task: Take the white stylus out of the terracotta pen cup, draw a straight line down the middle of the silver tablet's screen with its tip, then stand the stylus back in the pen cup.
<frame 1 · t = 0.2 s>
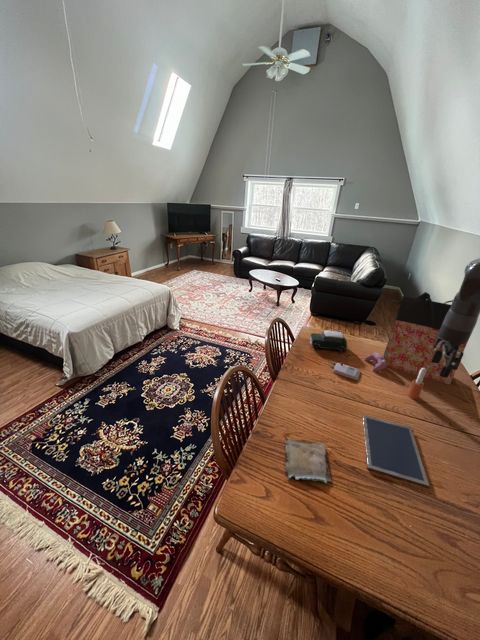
hand: (438, 369, 88), 19 cm above the table, tool pointing down, fingers open, 8 cm apart
gift bag: (409, 367, 122), on the table
video game controller: (374, 366, 122), on the table
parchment: (306, 461, 76), on the table
tablet: (390, 447, 82), on the table
miniature car: (327, 346, 136), on the table
stylus: (412, 396, 103), resting on pen cup
pen cup: (412, 397, 104), on the table
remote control: (344, 372, 116), on the table
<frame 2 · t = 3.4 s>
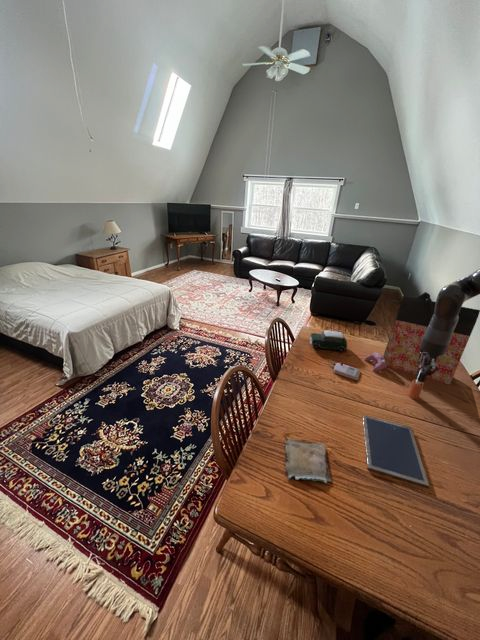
hand: (419, 379, 100), 9 cm above the table, tool pointing down, fingers closed on stylus, 2 cm apart
stylus: (412, 396, 103), resting on pen cup, touching gripper
everything else where it was.
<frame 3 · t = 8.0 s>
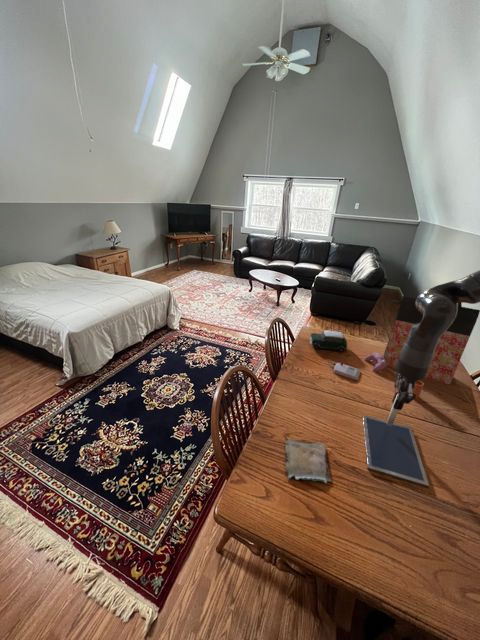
hand: (396, 405, 83), 11 cm above the table, tool pointing down, fingers closed on stylus, 2 cm apart
stylus: (388, 424, 87), point 2 cm above the table, touching gripper
everything else where it was.
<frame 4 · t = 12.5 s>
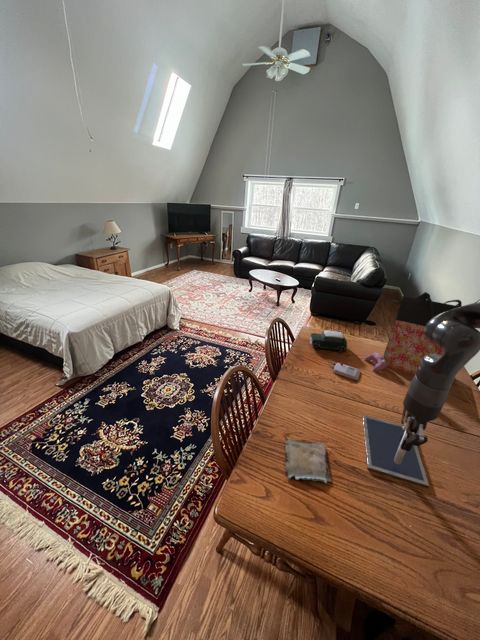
hand: (404, 445, 72), 9 cm above the table, tool pointing down, fingers closed on stylus, 2 cm apart
stylus: (396, 462, 75), point 2 cm above the table, touching gripper
everything else where it was.
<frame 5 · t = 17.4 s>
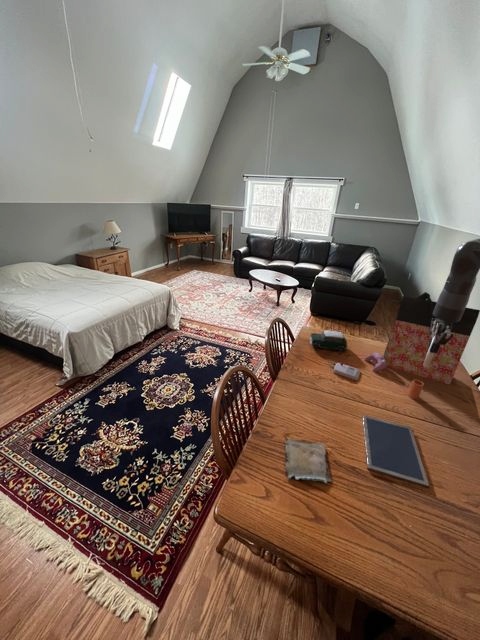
hand: (432, 350, 93), 22 cm above the table, tool pointing down, fingers closed on stylus
stylus: (425, 366, 96), point 15 cm above the table, touching gripper
everything else where it was.
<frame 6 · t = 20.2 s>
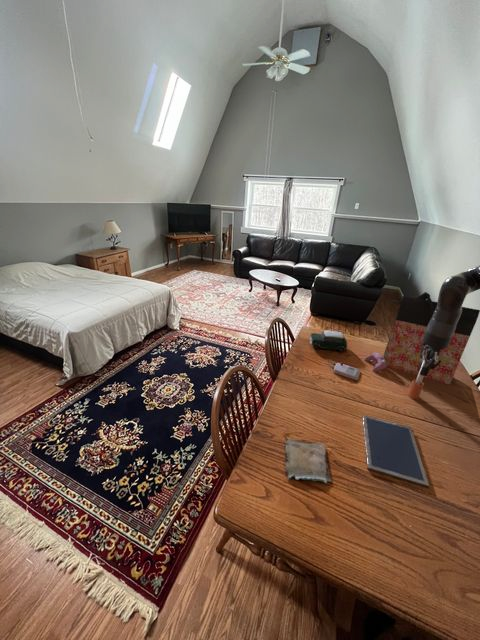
hand: (422, 373, 99), 11 cm above the table, tool pointing down, fingers closed on stylus
stylus: (416, 387, 102), point 4 cm above the table, touching gripper
everything else where it was.
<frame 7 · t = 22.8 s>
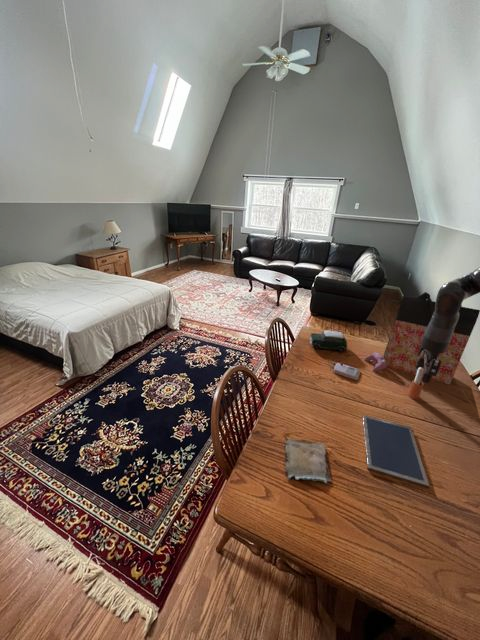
hand: (421, 375, 99), 10 cm above the table, tool pointing down, fingers open, 8 cm apart
stylus: (412, 396, 103), point 1 cm above the table, touching pen cup
everything else where it was.
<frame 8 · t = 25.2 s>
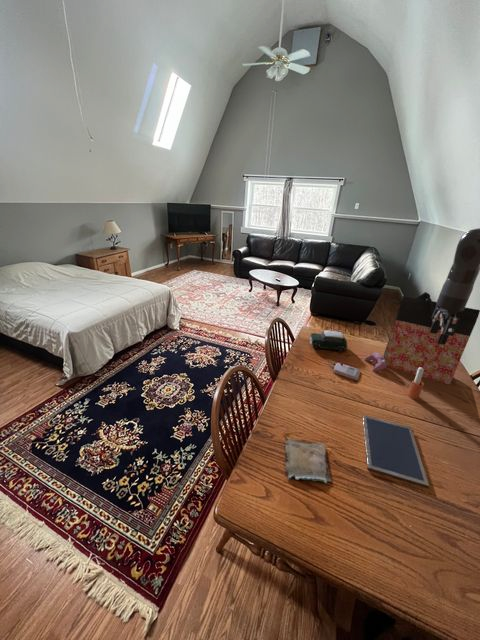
hand: (436, 338, 92), 26 cm above the table, tool pointing down, fingers open, 8 cm apart
nothing on the table moved.
at the end: stylus 0.1 cm off-centre in the pen cup, point 0.5 cm above the pen cup's base; stylus tilted 4°; stylus touching pen cup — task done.
